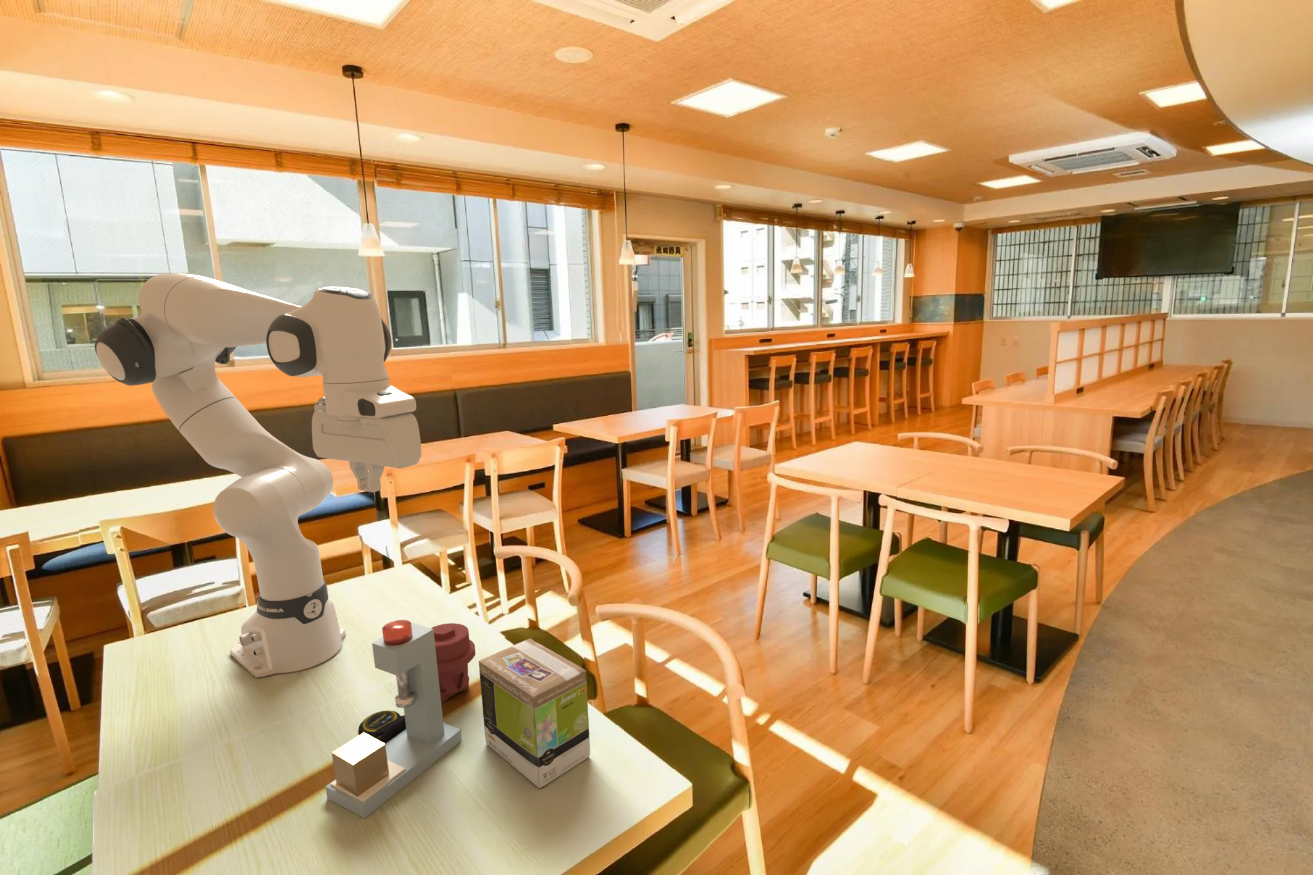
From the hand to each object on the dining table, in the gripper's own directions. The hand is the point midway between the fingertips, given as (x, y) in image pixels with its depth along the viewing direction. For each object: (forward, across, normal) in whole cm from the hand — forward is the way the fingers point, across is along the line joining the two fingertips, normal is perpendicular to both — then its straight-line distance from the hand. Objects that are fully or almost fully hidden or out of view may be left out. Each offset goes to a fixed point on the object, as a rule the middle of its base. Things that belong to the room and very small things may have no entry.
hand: (370, 490), depth 98 cm
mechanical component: (+41, -1, +12) cm, 43 cm away
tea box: (+41, +23, +7) cm, 48 cm away
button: (+32, +7, -3) cm, 33 cm away
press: (+41, +7, -6) cm, 42 cm away
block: (+39, +7, -12) cm, 41 cm away
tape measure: (+42, 0, -3) cm, 42 cm away
